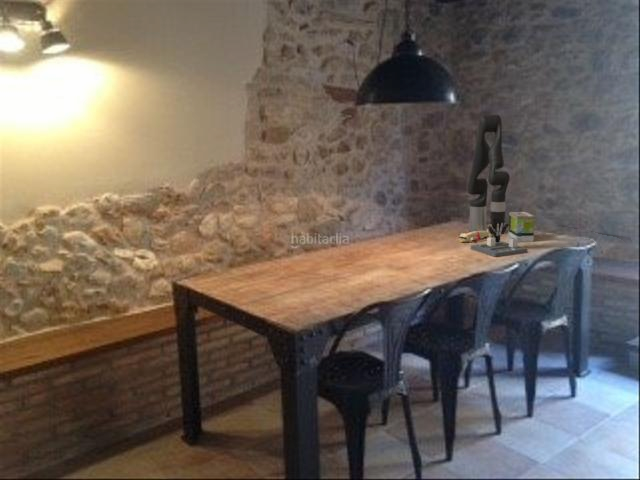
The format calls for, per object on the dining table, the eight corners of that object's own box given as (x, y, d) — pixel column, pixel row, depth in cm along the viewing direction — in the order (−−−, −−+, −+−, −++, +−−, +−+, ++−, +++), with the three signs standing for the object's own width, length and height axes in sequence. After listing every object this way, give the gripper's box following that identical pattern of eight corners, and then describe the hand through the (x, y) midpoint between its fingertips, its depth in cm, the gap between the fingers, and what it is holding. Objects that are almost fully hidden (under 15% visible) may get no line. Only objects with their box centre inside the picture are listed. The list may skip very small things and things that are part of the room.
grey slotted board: (470, 249, 308) (470, 244, 307) (501, 244, 315) (501, 240, 314) (495, 257, 289) (495, 252, 289) (527, 252, 296) (527, 247, 296)
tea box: (534, 241, 319) (535, 215, 316) (515, 242, 319) (516, 216, 316) (525, 236, 334) (526, 210, 330) (507, 236, 334) (508, 211, 331)
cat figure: (483, 237, 341) (453, 240, 327) (484, 222, 339) (454, 225, 326) (497, 240, 333) (467, 243, 319) (498, 225, 331) (468, 227, 317)
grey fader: (508, 246, 301) (509, 237, 300) (513, 245, 302) (513, 237, 301) (512, 247, 298) (513, 238, 297) (517, 246, 299) (517, 238, 298)
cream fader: (487, 245, 305) (487, 236, 304) (491, 244, 306) (491, 236, 305) (490, 246, 303) (490, 237, 302) (495, 245, 304) (495, 237, 303)
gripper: (503, 207, 308) (502, 239, 311) (482, 210, 303) (482, 242, 307) (513, 209, 301) (512, 242, 304) (492, 212, 296) (491, 245, 300)
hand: (497, 242), depth 305 cm, fingers closed
